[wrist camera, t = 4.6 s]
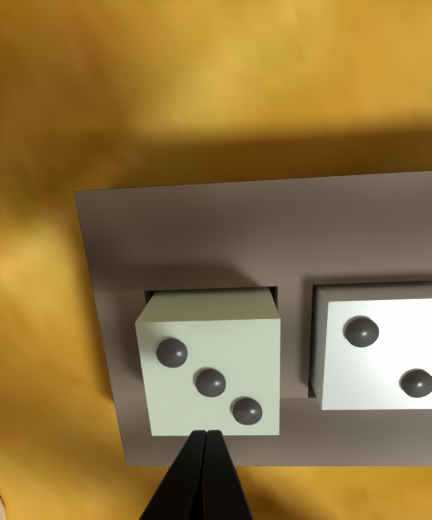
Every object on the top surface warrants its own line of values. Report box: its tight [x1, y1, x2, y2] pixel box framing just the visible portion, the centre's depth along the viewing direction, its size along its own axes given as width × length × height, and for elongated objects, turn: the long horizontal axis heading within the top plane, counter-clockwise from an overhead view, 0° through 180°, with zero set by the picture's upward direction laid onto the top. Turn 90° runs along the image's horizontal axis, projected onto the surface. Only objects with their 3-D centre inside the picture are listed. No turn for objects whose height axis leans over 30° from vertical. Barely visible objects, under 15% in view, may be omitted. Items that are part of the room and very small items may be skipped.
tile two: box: [309, 281, 432, 410], centre depth 12 cm, size 5×5×3 cm
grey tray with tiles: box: [74, 171, 432, 466], centre depth 13 cm, size 14×24×3 cm, turn 93°
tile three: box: [135, 286, 280, 436], centre depth 11 cm, size 5×5×3 cm
